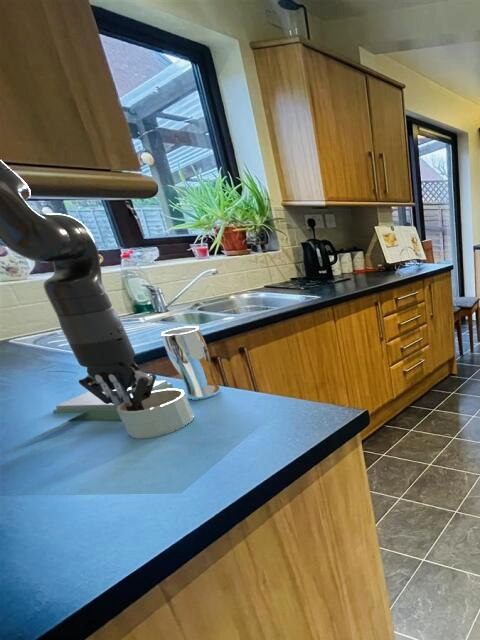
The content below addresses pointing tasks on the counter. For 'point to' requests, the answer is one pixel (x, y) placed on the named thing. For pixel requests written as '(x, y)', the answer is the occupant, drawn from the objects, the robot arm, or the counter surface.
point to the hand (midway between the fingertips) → (137, 420)
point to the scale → (98, 405)
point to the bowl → (157, 414)
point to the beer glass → (191, 361)
